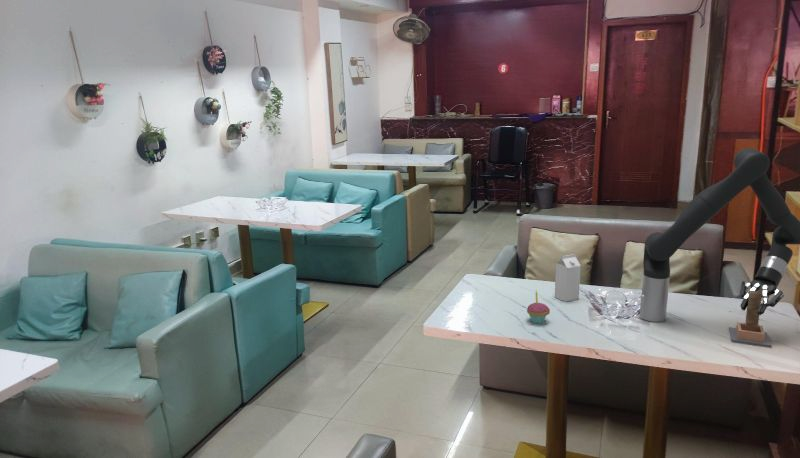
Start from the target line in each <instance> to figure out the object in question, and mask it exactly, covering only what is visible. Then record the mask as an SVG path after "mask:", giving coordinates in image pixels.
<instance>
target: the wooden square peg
mask: <svg viewBox="0 0 800 458" xmlns="http://www.w3.org/2000/svg"><path fill="white" fill-rule="evenodd" d="M748 291H749V297H748V305H747V307H746V313H745V314H746V315H745V322H744V323H746V326H754V327H758V325H759V321H760V320H759V319H760V315H758V313H757V311H758V309H759V307H760V305H761V303H762V299H763V297H762V293H761V291H753V290H750V289H748Z"/></svg>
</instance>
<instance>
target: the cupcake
mask: <svg viewBox="0 0 800 458" xmlns="http://www.w3.org/2000/svg"><path fill="white" fill-rule="evenodd" d="M526 312H527V314H528V315H529V317H530V321H531V323H534V324H544V322H545V319H546V317H547V316H548V315H550V313H551V311H550V307H548V305H547V304H544V303H540V302H539V299H538V292H537V290H535V302H533V303H531V304H529V305H527V309H526Z"/></svg>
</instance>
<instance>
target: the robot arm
mask: <svg viewBox="0 0 800 458" xmlns="http://www.w3.org/2000/svg"><path fill="white" fill-rule="evenodd" d="M770 164H771V160H770V158H769V156H768V155H767V154H766V153H763V152H762V151H760V150H758V149H754V148H749V147H748V148H743V149H740V150H739V151H738V152H737V153H736V154H735V156H734V159H733V165H734V170H733V171H731V173H729V174H728V175H727V176H726V177H725V178H723V179H722V180H720V181H718V182H717V183H716V182H715V183H714V184H712V185H711V186H709V187H707V188H705V189H704V190H703V189H702V191H700V192H699V193H698V194H697V195H696V196H695V197H694V198H693V199H692V200H690V201H689V202H688V204H687V205H686V206H685V207H684V208H683V210H682V211H681V212H680V214H679V216H678V218H676V221H675V222H674V223H673V224H672V225H671V226H670V227H668V229H666V230H665V231H664V232H653V233H650V234H649V235H648V236H647V237H646V239H645V241H644V246H643V247H644V248H643V249H644V250H643V265H642V266H643V277H642V285H641V286H642V287H641V297H640V307H639V319H641V320H645V321H647V322H653V323H662V322H665V321H666V318H667V309H668V308H667V307H668V297H669V288H670V277H671V267H670V259H671V257H673V255H674V254H675V253H676V252H677V251H678V250H679V249H680V247H682V245H683V244H684V243H685V242H686V241H687V240H688V239H690V237H692V235H694V234H695V233H697V231H699V230H700V229H701V228H702V227H703V226H704V225H706V224H707V223H708V222H709V221H710V220H711V219H713V218H714V217H715V216H716V215H717V214H719V212H720V211H722V209H724V208H725V206H727V205H728V204H729V203H730V202H731V201H732V200H734V199H735V198H736V196H738V195H739V194H740V193H741V192H742V191H744V190H745V189H746V188H748V187H751V189H752V191H753V192H754V194H755V196H756V198H757V200H758V201H759V203H760V206H762V209H763V210H764V213H765V215H766V216H767V218H768V220H769V221H770V223H771V224H773V225H775V226H777V227H776V228H775V229H774V230H773V232H772V238H771V243H770V244H771V245H770V249H769V250H768V252H767V254H766V257H765V259H763V261H762V263H761V265H760V266H759V269H758V271H757V273H756V274H755V275H754V278H753V280H751V281H750V282H746V281H744V280H743V281H742V282H741V284H740V290H739V296H740V299H742V301H741V303H740V309H741V310H742V311H744V312H745V311H746V310H747V305H748V297H749V290H753V291H761V293H762V302H761V305H760V307H759V309H758V311H757V313H758V315H759V316H762V315H763V314H765V312H766V310H767V308H768V307H771V308H774V307H775V306H776V305H777V304H778V303H779V302H780V301H781V300H782V299H783V298H784V296H785V294H784V292H783V290H779V289H778V286H779V285H780V282H781V281H782V279H783V277H784V276H785V274H786V271H787V269H788V268H787V267H788V265H789V263H790V261H791V260H792V257H793V253H794V252H793V249H791V248H790V247H788V246H787V245H800V220H799V218H797V217H796V215H794V214H793V213H792V211H791V210H790V208H789V206H788V204H787V203H786V201H785V199H784V198H783V196H782V195H781V193H780V192H779V191H778V190H777V188H776V187H775V186H774V184H773V183H772V181H771V180H770V179H769V177H768V175H767V172H768V170H769V168H770V166H771V165H770ZM749 288H750V289H749ZM747 290H748V292H747ZM772 295H774V296H773V297H772V298H771V299H770V296H772Z"/></svg>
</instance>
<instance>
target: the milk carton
mask: <svg viewBox="0 0 800 458" xmlns="http://www.w3.org/2000/svg"><path fill="white" fill-rule="evenodd" d="M555 263H556V264H555V279H554V281H555V282H554V297H555V298H557V299H558V300H561V301H563V302H565V303H567V302H572V301H577V300H579V297H580V287H581V286H580V283H581V267H582V266H581V264H580V262H579V260H578V258H577V255H576V253H574V254H573V253H572V254H567V255H563V256H561V258H560V260H558V261H557V262H555Z"/></svg>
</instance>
